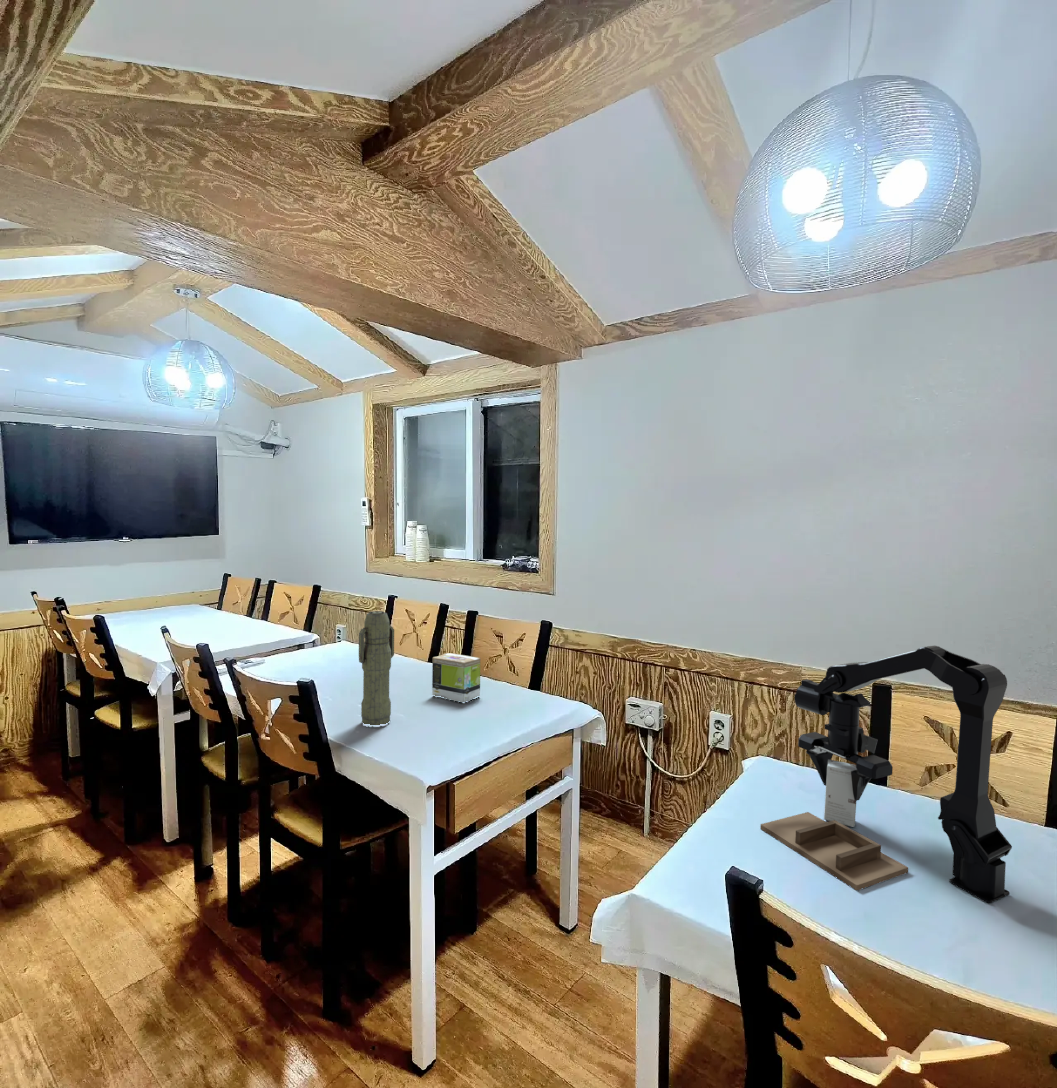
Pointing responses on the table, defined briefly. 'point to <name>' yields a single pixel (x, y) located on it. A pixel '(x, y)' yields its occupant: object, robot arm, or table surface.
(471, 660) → the tea box
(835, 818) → the skincare box
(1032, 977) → the table surface
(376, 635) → the olive robed figurine
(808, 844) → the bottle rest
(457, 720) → the table surface
